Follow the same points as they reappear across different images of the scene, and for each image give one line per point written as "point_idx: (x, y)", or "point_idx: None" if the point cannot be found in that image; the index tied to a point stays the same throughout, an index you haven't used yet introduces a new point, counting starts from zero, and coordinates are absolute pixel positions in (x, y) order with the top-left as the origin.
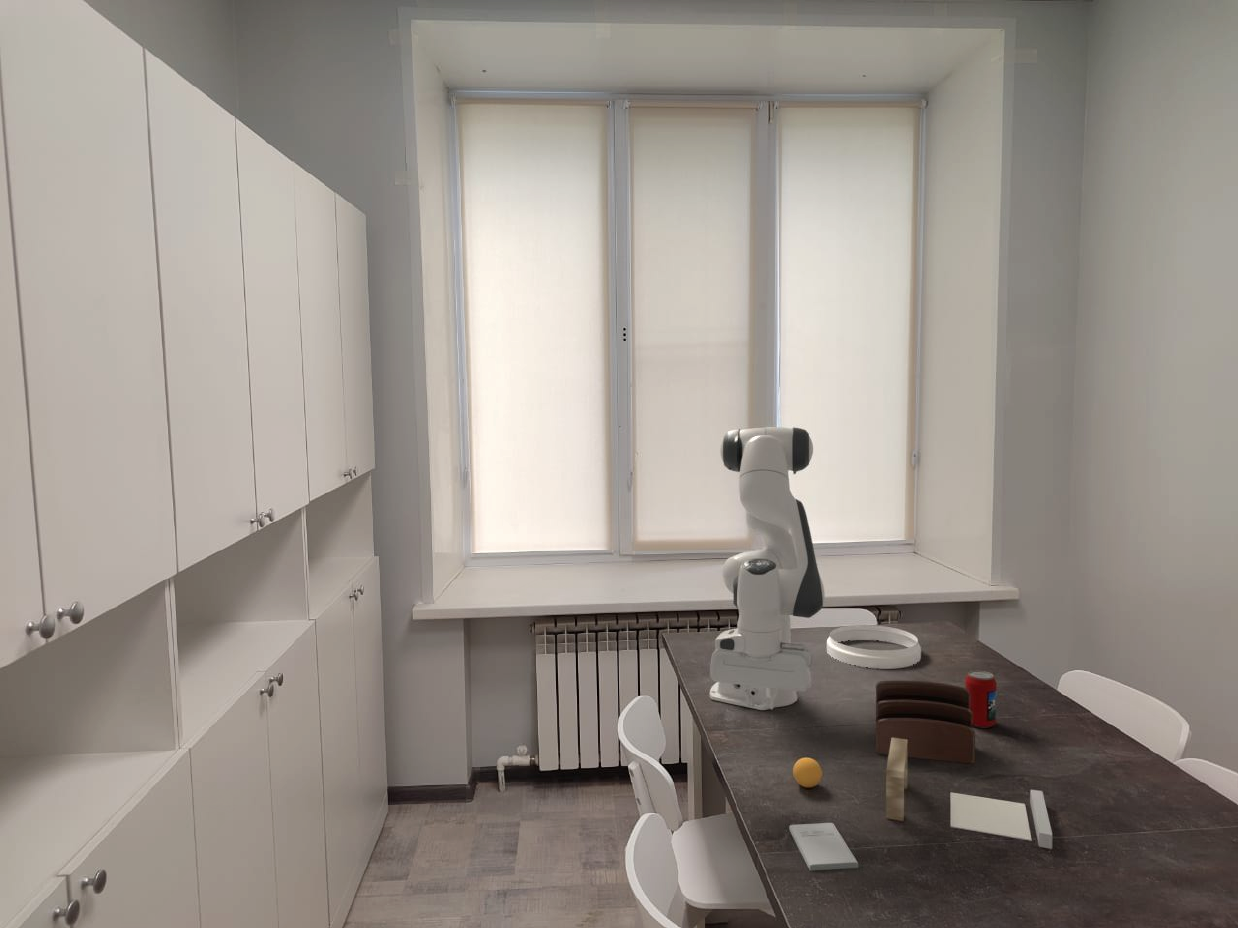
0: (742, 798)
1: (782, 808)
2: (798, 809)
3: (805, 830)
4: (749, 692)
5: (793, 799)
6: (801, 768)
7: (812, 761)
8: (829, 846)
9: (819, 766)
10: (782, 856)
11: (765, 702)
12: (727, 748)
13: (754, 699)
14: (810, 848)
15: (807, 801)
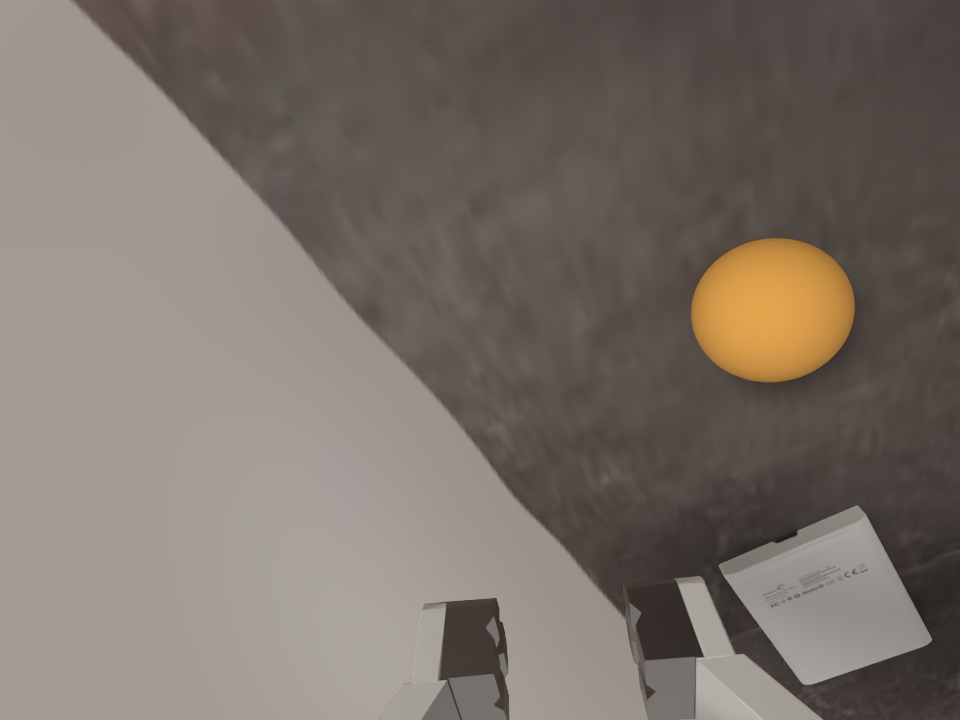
0: (520, 481)
1: (671, 478)
2: (727, 462)
3: (777, 582)
4: (427, 717)
5: (698, 411)
6: (760, 379)
7: (831, 343)
8: (854, 616)
9: (854, 311)
10: None
11: (644, 697)
12: (227, 95)
13: (498, 655)
14: (800, 640)
15: (753, 401)
